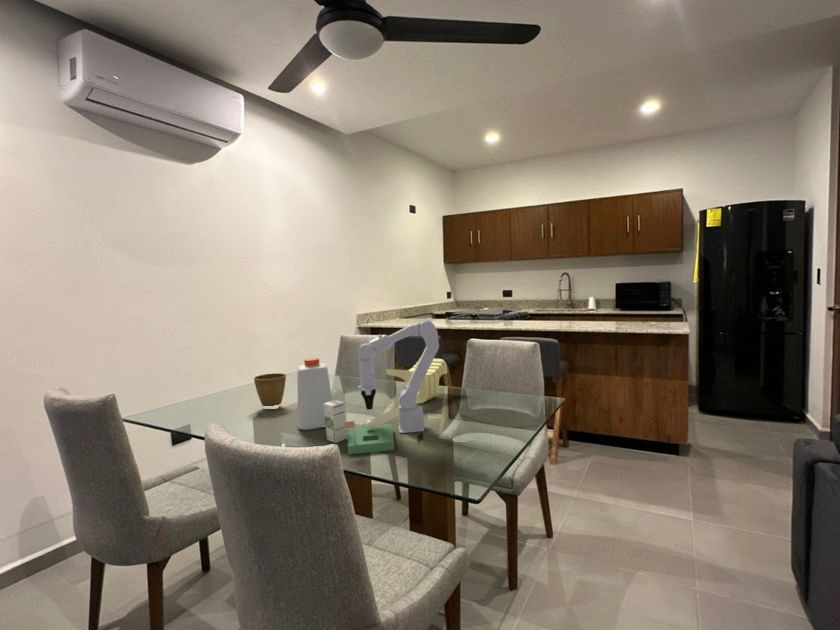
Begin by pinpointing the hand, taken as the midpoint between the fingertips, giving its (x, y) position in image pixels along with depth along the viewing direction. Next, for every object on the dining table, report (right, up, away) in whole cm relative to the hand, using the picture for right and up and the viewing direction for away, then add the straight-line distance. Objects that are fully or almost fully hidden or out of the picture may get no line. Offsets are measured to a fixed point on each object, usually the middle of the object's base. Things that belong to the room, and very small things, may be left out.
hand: (369, 408), depth 174 cm
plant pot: (-53, -9, +45) cm, 70 cm away
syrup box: (-12, -11, -6) cm, 17 cm away
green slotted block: (+2, -10, -10) cm, 14 cm away
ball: (+1, -5, -7) cm, 8 cm away
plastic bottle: (-24, -10, +15) cm, 30 cm away
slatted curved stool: (+19, -5, +46) cm, 50 cm away
